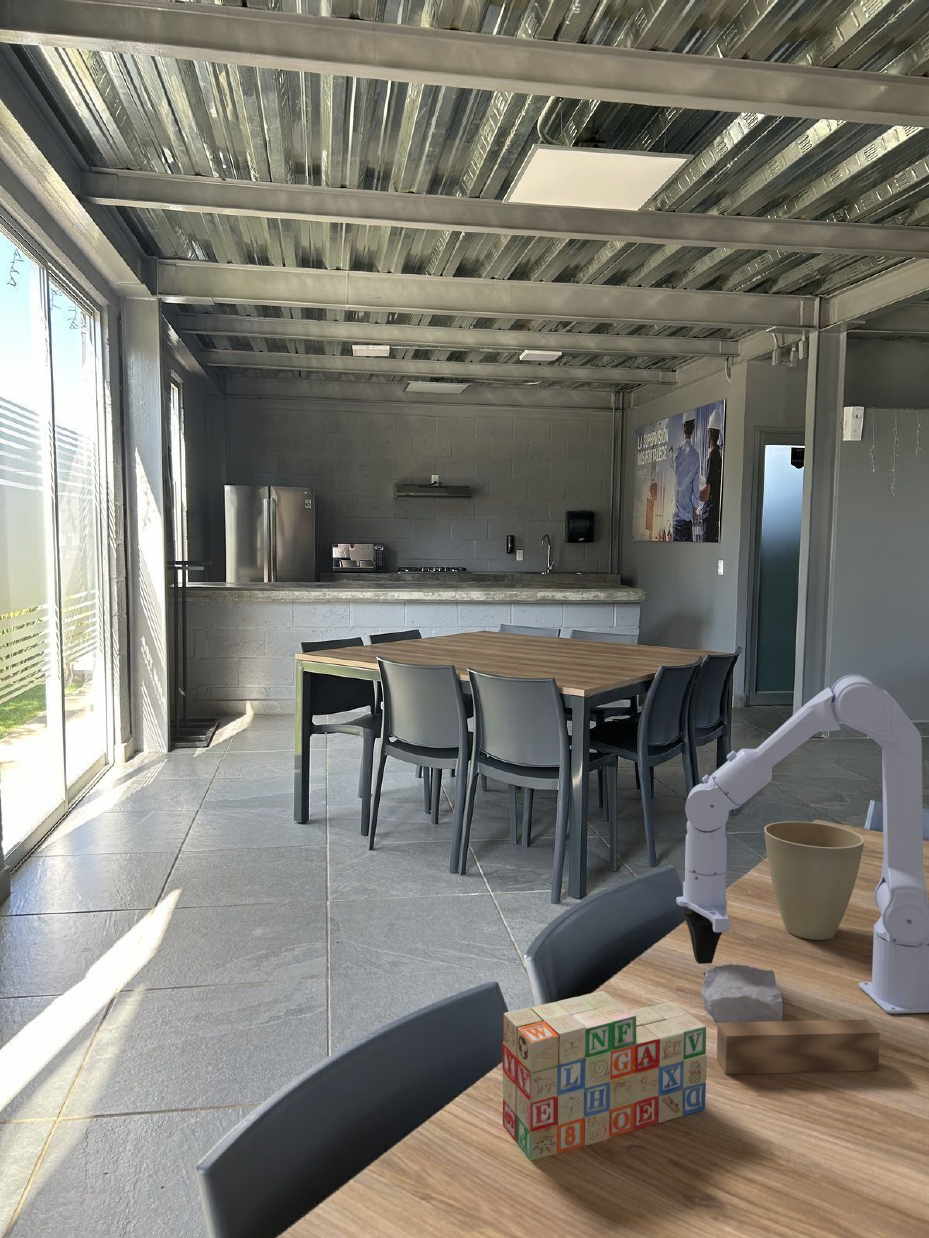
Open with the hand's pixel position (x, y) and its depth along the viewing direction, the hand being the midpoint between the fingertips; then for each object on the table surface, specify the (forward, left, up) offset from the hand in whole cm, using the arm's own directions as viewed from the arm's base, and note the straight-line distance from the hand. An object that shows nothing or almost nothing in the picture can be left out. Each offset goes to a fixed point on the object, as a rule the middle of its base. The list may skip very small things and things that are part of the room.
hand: (703, 961), depth 127 cm
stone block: (-2, +10, -2) cm, 10 cm away
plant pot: (-22, -14, -2) cm, 26 cm away
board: (-3, +24, -1) cm, 25 cm away
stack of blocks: (+22, +33, -2) cm, 40 cm away
